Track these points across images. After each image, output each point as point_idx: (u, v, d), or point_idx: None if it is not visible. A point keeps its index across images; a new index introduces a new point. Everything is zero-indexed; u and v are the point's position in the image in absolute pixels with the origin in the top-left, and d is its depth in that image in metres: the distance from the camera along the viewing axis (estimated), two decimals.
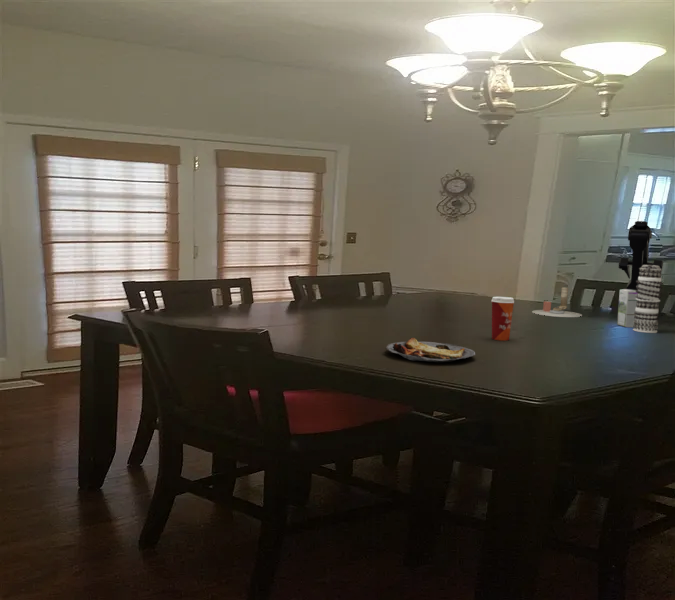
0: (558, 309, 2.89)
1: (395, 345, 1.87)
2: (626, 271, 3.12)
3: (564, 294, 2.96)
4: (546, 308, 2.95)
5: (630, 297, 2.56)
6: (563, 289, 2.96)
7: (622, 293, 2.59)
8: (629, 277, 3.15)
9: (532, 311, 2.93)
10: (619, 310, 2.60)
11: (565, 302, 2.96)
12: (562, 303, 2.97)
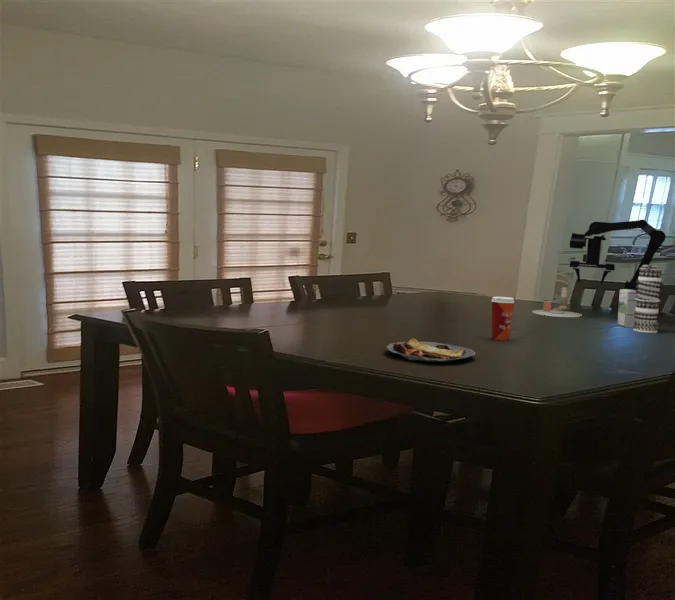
0: (558, 309, 2.89)
1: (395, 345, 1.87)
2: (577, 271, 2.94)
3: (564, 294, 2.96)
4: (546, 308, 2.95)
5: (630, 297, 2.56)
6: (563, 289, 2.96)
7: (622, 293, 2.59)
8: (579, 281, 2.96)
9: (532, 311, 2.93)
10: (619, 310, 2.60)
11: (565, 302, 2.96)
12: (562, 303, 2.97)
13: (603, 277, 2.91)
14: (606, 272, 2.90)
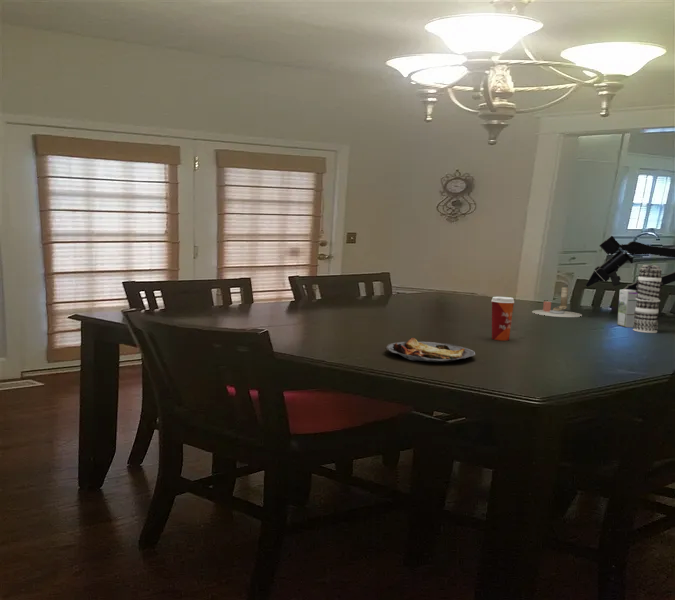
0: (558, 309, 2.89)
1: (395, 345, 1.87)
2: (592, 273, 2.94)
3: (564, 294, 2.96)
4: (546, 308, 2.95)
5: (630, 297, 2.56)
6: (563, 289, 2.96)
7: (622, 293, 2.59)
8: (587, 283, 2.94)
9: (532, 311, 2.93)
10: (619, 310, 2.60)
11: (565, 302, 2.96)
12: (562, 303, 2.97)
13: (590, 277, 2.92)
14: (593, 272, 2.91)
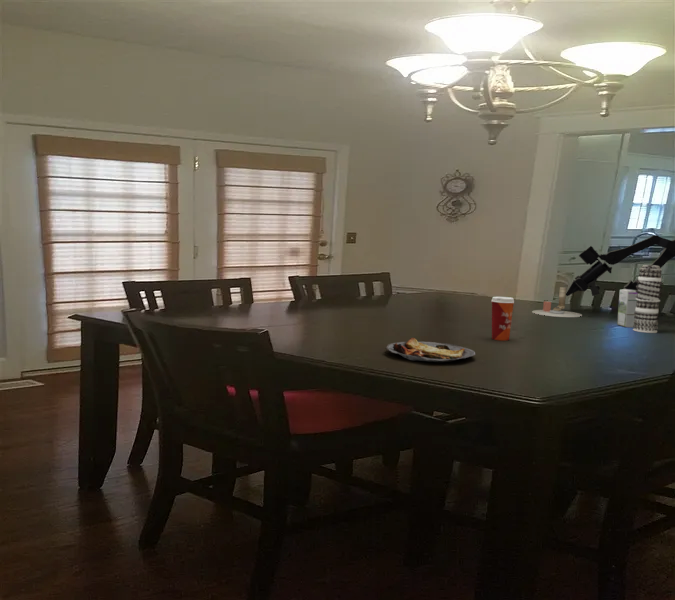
0: (558, 309, 2.89)
1: (395, 345, 1.87)
2: (572, 282, 2.97)
3: (562, 294, 2.96)
4: (546, 308, 2.95)
5: (630, 297, 2.56)
6: (561, 289, 2.96)
7: (622, 293, 2.59)
8: None
9: (532, 311, 2.93)
10: (619, 310, 2.60)
11: (563, 302, 2.97)
12: (560, 303, 2.97)
13: (570, 286, 2.96)
14: (573, 282, 2.94)
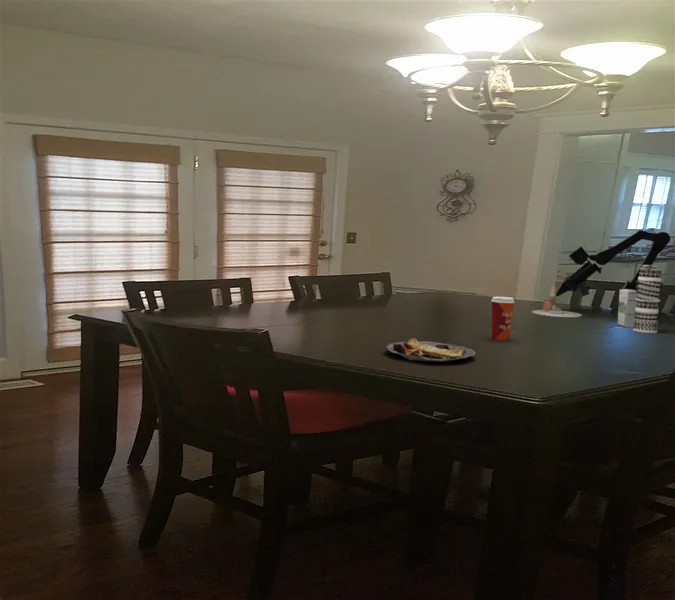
0: (559, 309, 2.89)
1: (395, 345, 1.87)
2: None
3: (554, 293, 2.98)
4: (546, 308, 2.95)
5: (630, 297, 2.56)
6: (553, 288, 2.97)
7: (622, 293, 2.59)
8: None
9: (532, 311, 2.93)
10: (619, 310, 2.60)
11: (554, 301, 2.98)
12: (552, 302, 2.98)
13: (560, 287, 2.97)
14: (563, 282, 2.95)
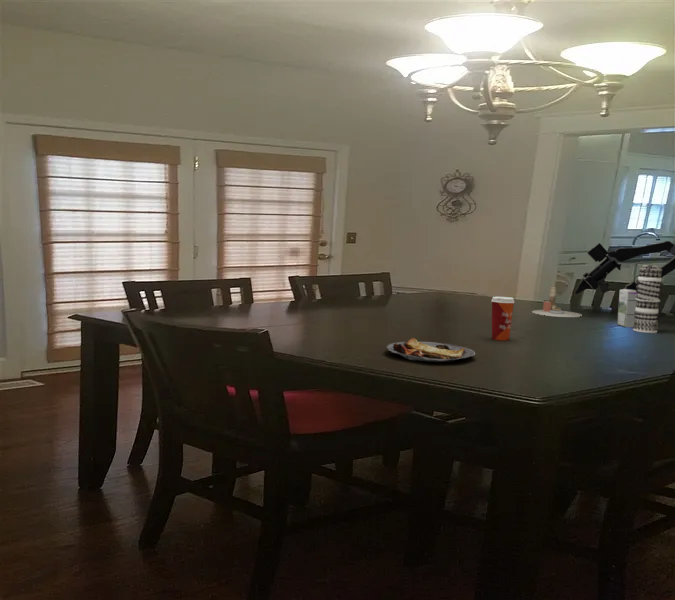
0: (559, 309, 2.89)
1: (395, 345, 1.87)
2: (581, 280, 2.96)
3: (554, 293, 2.98)
4: (546, 308, 2.95)
5: (630, 297, 2.56)
6: (553, 288, 2.97)
7: (622, 293, 2.59)
8: (576, 290, 2.96)
9: (532, 311, 2.93)
10: (619, 310, 2.60)
11: (554, 301, 2.98)
12: (552, 302, 2.98)
13: (579, 284, 2.94)
14: (582, 280, 2.92)
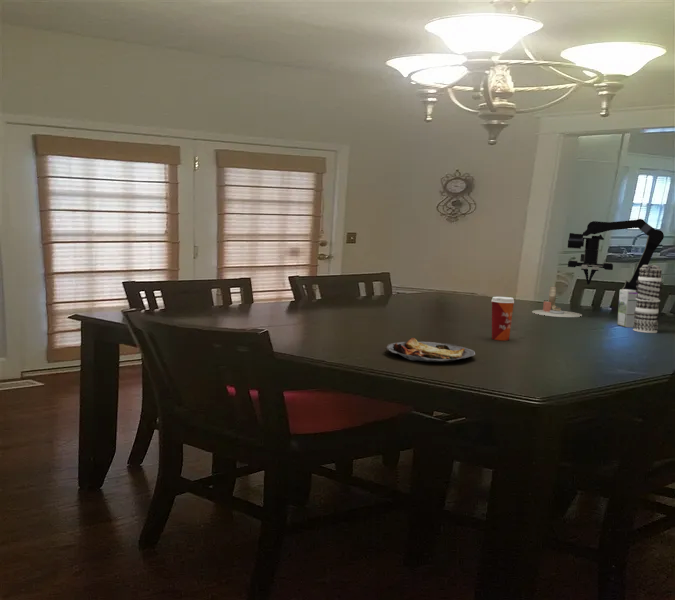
0: (559, 309, 2.89)
1: (395, 345, 1.87)
2: (586, 271, 2.92)
3: (554, 293, 2.98)
4: (546, 308, 2.95)
5: (630, 297, 2.56)
6: (553, 288, 2.97)
7: (622, 293, 2.59)
8: (588, 282, 2.93)
9: (532, 311, 2.93)
10: (619, 310, 2.60)
11: (554, 301, 2.98)
12: (552, 302, 2.98)
13: (591, 276, 2.92)
14: (594, 271, 2.90)
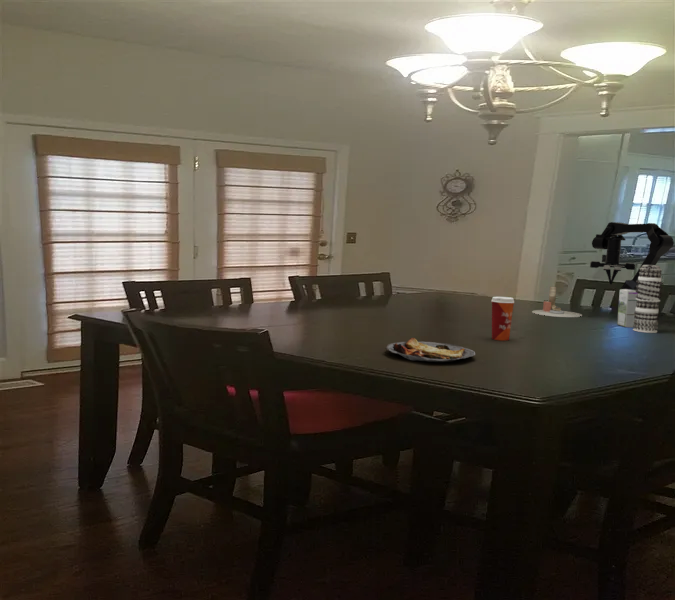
0: (559, 309, 2.89)
1: (395, 345, 1.87)
2: (608, 272, 2.97)
3: (554, 293, 2.98)
4: (546, 308, 2.95)
5: (630, 297, 2.56)
6: (553, 288, 2.97)
7: (622, 293, 2.59)
8: (610, 282, 2.98)
9: (532, 311, 2.93)
10: (619, 310, 2.60)
11: (554, 301, 2.98)
12: (552, 302, 2.98)
13: (613, 276, 2.97)
14: (616, 271, 2.95)
